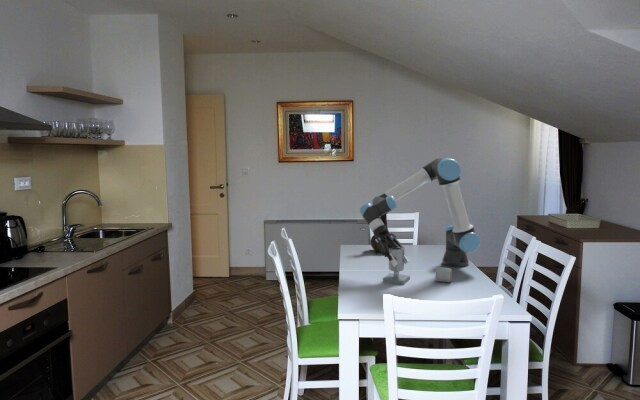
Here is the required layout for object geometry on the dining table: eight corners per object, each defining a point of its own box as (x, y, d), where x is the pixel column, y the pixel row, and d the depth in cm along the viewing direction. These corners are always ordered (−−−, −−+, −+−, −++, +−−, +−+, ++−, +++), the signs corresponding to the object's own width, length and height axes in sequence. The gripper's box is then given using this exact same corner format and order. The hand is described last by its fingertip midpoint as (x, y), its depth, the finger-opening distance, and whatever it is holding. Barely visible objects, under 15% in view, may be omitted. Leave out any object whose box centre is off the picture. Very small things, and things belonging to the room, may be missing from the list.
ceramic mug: (451, 284, 229) (452, 269, 228) (435, 283, 231) (435, 268, 230) (451, 278, 239) (452, 264, 238) (435, 277, 241) (436, 263, 240)
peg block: (410, 279, 238) (410, 264, 237) (403, 284, 228) (403, 269, 227) (389, 276, 243) (390, 262, 242) (382, 282, 233) (382, 266, 232)
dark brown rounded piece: (401, 253, 299) (401, 211, 296) (375, 255, 295) (376, 212, 292) (391, 248, 316) (391, 208, 314) (366, 249, 312) (366, 209, 310)
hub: (405, 268, 237) (405, 247, 235) (400, 271, 230) (401, 250, 229) (391, 267, 240) (392, 246, 239) (387, 270, 234) (387, 249, 232)
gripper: (388, 230, 252) (410, 264, 241) (361, 235, 239) (383, 271, 228) (395, 222, 247) (418, 256, 236) (368, 226, 234) (391, 263, 223)
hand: (401, 263), depth 232 cm, fingers closed on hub, 8 cm apart
